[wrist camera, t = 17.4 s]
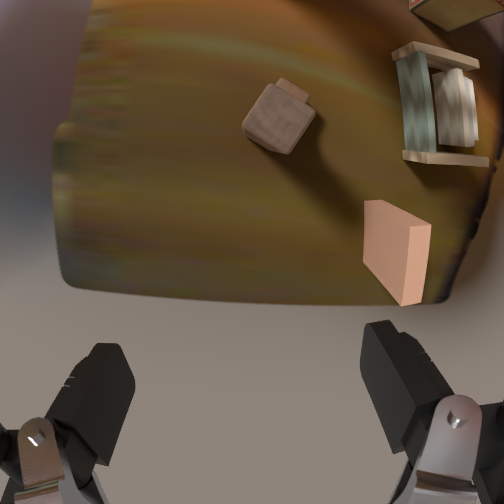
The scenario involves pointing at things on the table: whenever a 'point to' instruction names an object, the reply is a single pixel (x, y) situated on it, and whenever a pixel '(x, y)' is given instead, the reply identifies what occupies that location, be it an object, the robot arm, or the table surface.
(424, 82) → the offcut rack
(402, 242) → the pink rectangular block
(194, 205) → the table surface
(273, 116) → the wooden block
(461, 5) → the food packaging
